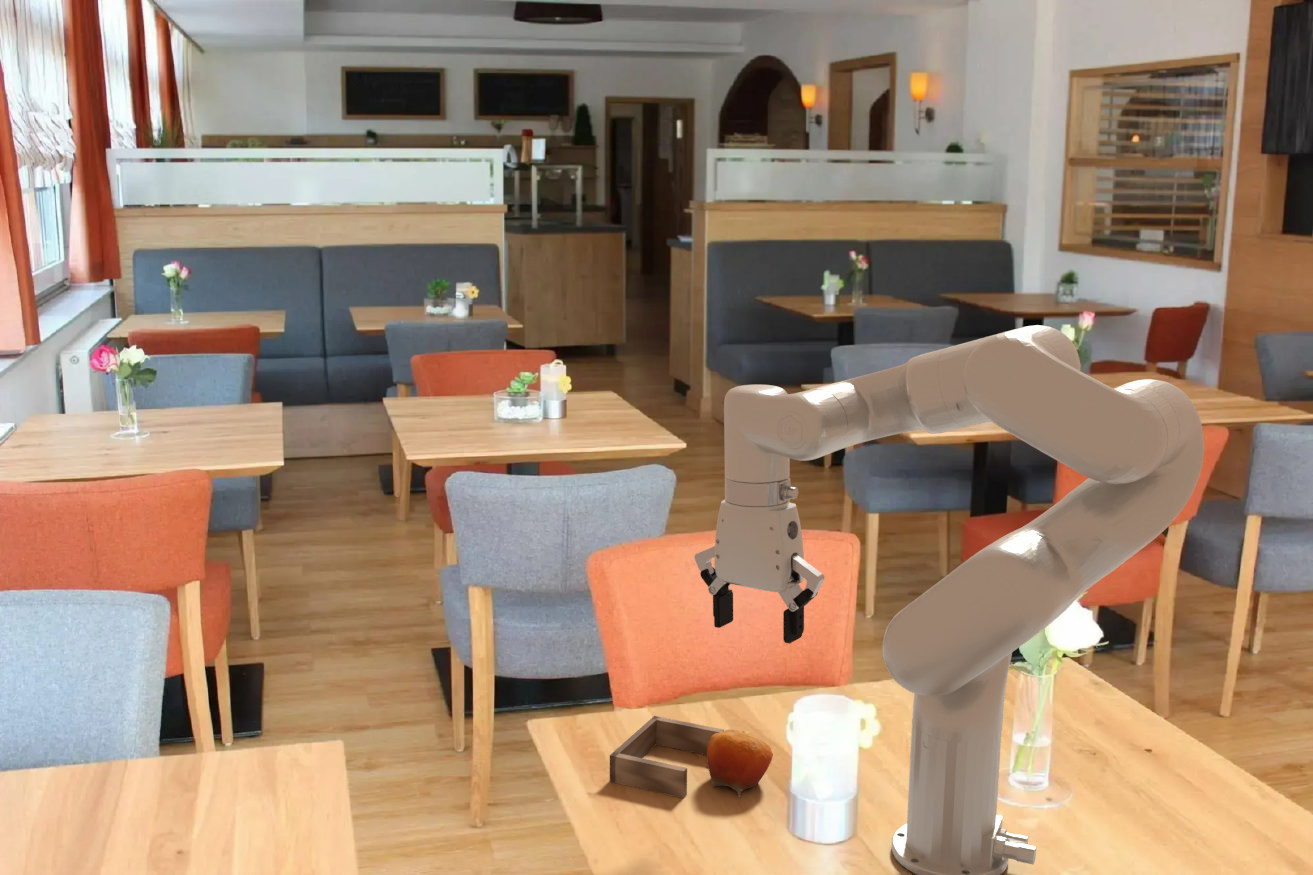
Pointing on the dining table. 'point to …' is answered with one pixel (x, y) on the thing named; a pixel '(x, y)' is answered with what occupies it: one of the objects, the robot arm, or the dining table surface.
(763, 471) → the robot arm
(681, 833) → the dining table surface
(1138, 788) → the dining table surface
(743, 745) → the fruit
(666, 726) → the u-shaped wall frame
